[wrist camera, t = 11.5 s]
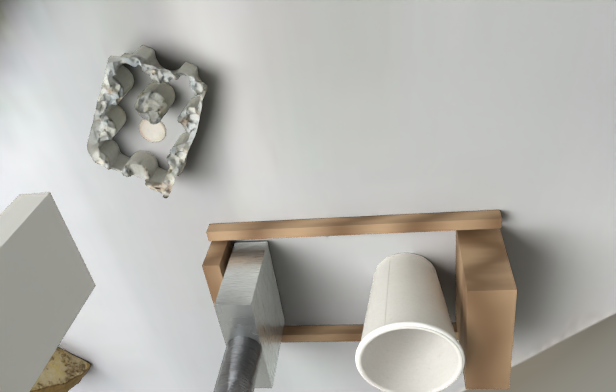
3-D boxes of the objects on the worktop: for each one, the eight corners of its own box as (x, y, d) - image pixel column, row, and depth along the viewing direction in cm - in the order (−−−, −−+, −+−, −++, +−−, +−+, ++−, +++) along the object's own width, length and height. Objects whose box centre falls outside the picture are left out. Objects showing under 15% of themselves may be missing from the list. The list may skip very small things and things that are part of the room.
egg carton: (182, 178, 50) (167, 205, 47) (98, 143, 49) (77, 169, 46) (221, 73, 44) (207, 95, 41) (126, 31, 43) (104, 50, 40)
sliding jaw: (267, 241, 52) (207, 469, 34) (284, 321, 58) (240, 554, 40) (235, 242, 53) (159, 468, 35) (255, 321, 58) (198, 552, 40)
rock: (110, 379, 62) (38, 329, 57) (53, 452, 59) (-29, 407, 54) (73, 350, 71) (7, 303, 65) (22, 412, 67) (-52, 369, 62)
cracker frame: (499, 209, 48) (518, 274, 41) (493, 329, 56) (508, 400, 49) (209, 224, 52) (184, 284, 46) (240, 334, 60) (222, 399, 53)
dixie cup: (387, 320, 56) (387, 409, 48) (342, 262, 53) (335, 346, 45) (467, 291, 53) (483, 380, 45) (426, 227, 50) (434, 310, 42)
